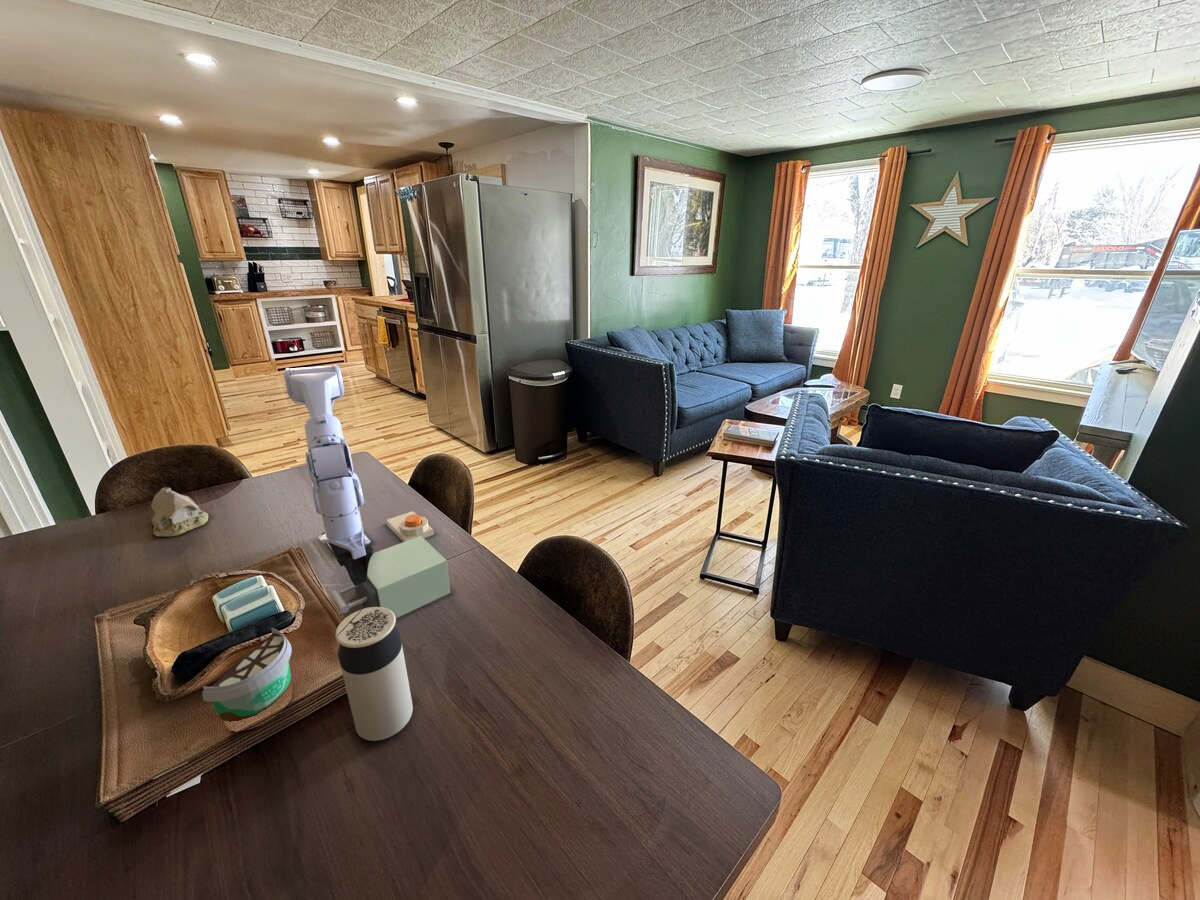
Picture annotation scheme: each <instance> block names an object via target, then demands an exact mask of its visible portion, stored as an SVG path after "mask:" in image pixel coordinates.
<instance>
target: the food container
mask: <svg viewBox="0 0 1200 900" xmlns="http://www.w3.org/2000/svg"><path fill="white" fill-rule="evenodd" d="M270 629H271V634H270V635H269V636H268V637H267V638H265V640H264V641H262V642H261V643H260V644H259V645H257V646H256V647H255V648H253V649H252V650H250V651H249V652H248V653H246V654H244V655H243V656H242V657H241V658H240V659H239V660H238V661H237V662H236V663H235V664H234V665H233V666H232V667H231V668H230V669H229V670H228V671H227V672H226V673H225V674H224V675H223V676H222V677H221V678H219V680H217V681H216V682H215V683H214V684H212V685H211V686H204V685H203V686H202V688H203V691H202V692H201V693H202V700H203V702H208V703H211V704H212V706H213V707H214V709H215V711H216V712H217V714H218V716H219V717H220V719H221V720H223V721H229V722H231V721H239V720H242V719H246V718H249V717H252V716H255V715H257V714H258V713H260V712H262V711H264V710H266V709H267V708H269V707H270V706H272V705H273V704H275V703H276V702H277V701H278V700H280V699H281V698H282V697H283V695H284V694H285V693H286V692H287V690H288V688H289V687H290V684H291V680H292V674H291V669H290V662H289V661H290V659H291V657H292V652H293V648H292V644H291V642H290V641H289V640H288V638H287V636H286V635H285V634H284V633H283V632H281V631H280V630H278V629H276V628H270ZM223 721H222V722H223Z"/></svg>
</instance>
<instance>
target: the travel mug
mask: <svg viewBox="0 0 1200 900" xmlns="http://www.w3.org/2000/svg"><path fill="white" fill-rule="evenodd" d="M396 621H397V618H395V615H394V613H393V612H392V611H391V610H389V609H387V608H383V607H370V608H366V607H365V608H362V609H359V610H356V611H355V612H353V613H351V614H349V615H347V616H346V617H345V618H344V619H342V621H341V622H340V623H339V624H338V626H337V627H336V630H335V640H336V641H337V643H338V644H339V646H338V649H337V657H338V661H339V666H340V670H341V673H342V677H343V681H344V685H345V691H346V695H347V698H348V702H349V706H350V712H351V715H352V718H353V724H354V728H355V731H356V733H357V735H358V736H359V737H360V738H361V739H363V740H366V741H370V742H371V741H372V742H376V741H382V740H386V739H389V738H390V737H393V736H395V735H396V734H398V733H399V732H400V731H401V730H403V728H405V726H406V725H407V724H408V723H409V721H410V719H411V718H412V715H413V710H414V706H413V699H412V694H411V688H410V683H409V676H408V672H407V667H406V666H407V665H406V660H405V659H406V658H405V653H404V648H403V642H402V636H401V632H400V629H398V627H397V626H396V623H397V622H396Z"/></svg>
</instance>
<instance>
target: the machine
mask: <svg viewBox="0 0 1200 900" xmlns="http://www.w3.org/2000/svg"><path fill="white" fill-rule="evenodd" d="M367 579H368V580H369V581H370V583H371V584H372V585H373V587H374V588H375V589H376V591H377V595H378V600H379V606H380V607H383V608H387V609H389V610H391V611H392V612H393V613H394V615H395V618H396V619H398V618H400V617H402V616H404V615H406V614H409V613H411V612H413V611H415V610H417V609H419V608H421V607H423V606H425V605H427V604H430V603H432V602H434V601H437V600H438V599H441V598H443V597H445V596H447V595H449V594H451V586H450V584H451V583H450V577H449V567H448V560H447V559H446V558H445V557H444V556H443V555H442V554H441V553H440V552H439V551H437V550H436V548H434V546H433V545H431V544H430V543H429V542H428V540H426V538H423V537H422V536H419V537H416V538H414V539H411V540H408V541H405V542H403V541H402V542H400V543H397V544H395V545H392V546H390V547H387V548H384V549H381V550H378V551H376V552H373V555H372V556H371V559H370V561H369V565H368V573H367Z"/></svg>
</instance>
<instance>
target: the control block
mask: <svg viewBox="0 0 1200 900" xmlns="http://www.w3.org/2000/svg"><path fill="white" fill-rule="evenodd" d="M414 514H416V515H418V514H417V513H416V512H415V511H414V510H412V511H409V512H405V513H404V514H399V515H396V516H394V517H391V518H387V519H386V525H387V527H388V528H389V529H390V530H391V531H392V533H394V534H395V535H396V536H397V537H398V538H399V539H400V540H401V541H402V543H403V542H405V541H408V540H411V539H414V538H416V537H419V536H422V537H423V538H424V539H426V538H429V537H431V536H434V535H435V533H434V529H433V528H432V527H431V525H429V520H428V519H427V518H426V517H425V516H421V515H420V517H421V525H419V526H416V527H406V523H405V518H406V517H407V516H409V515H414Z"/></svg>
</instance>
